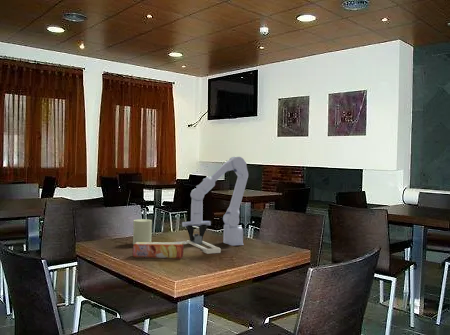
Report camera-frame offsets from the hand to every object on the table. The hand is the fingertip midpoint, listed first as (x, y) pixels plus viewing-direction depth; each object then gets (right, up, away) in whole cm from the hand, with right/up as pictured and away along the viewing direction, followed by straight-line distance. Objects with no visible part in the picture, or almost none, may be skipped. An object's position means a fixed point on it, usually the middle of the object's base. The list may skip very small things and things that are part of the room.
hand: (196, 240), depth 210 cm
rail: (+4, -3, -7) cm, 8 cm away
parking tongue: (-7, -2, +1) cm, 8 cm away
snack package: (-14, -3, -28) cm, 32 cm away
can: (-27, -2, +2) cm, 27 cm away
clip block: (0, -2, 0) cm, 2 cm away
